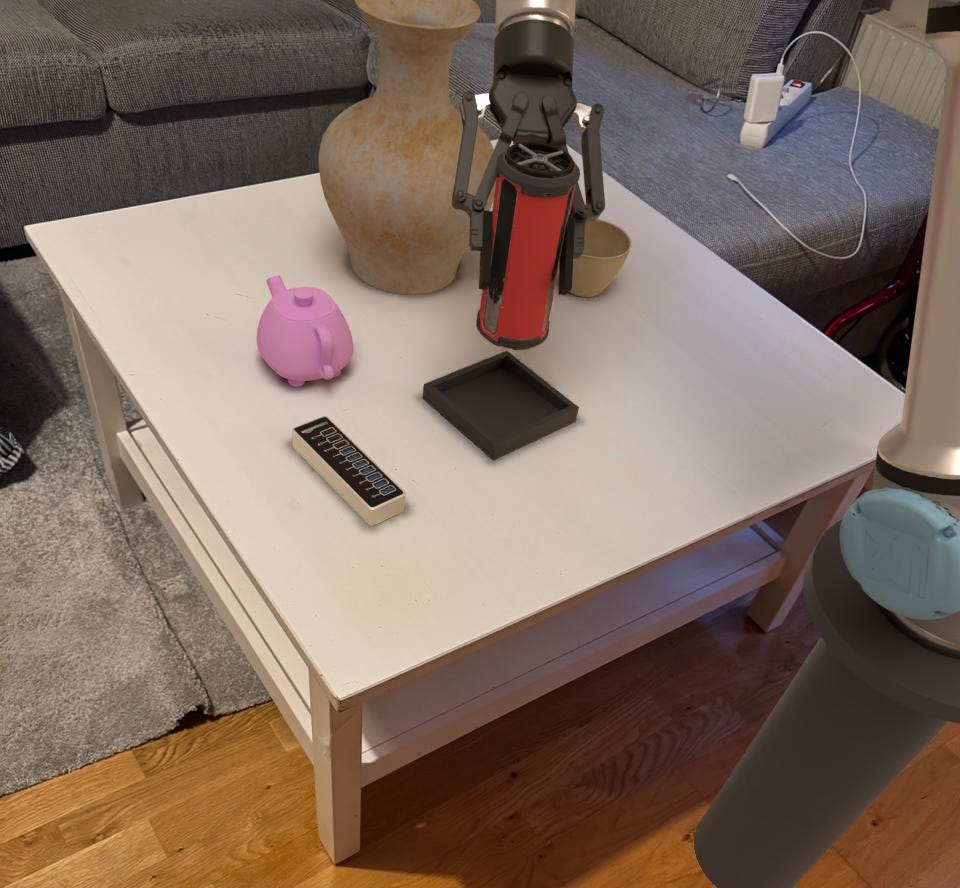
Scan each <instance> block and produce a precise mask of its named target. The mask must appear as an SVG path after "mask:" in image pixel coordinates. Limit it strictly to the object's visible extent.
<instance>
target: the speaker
mask: <svg viewBox="0 0 960 888" xmlns="http://www.w3.org/2000/svg"><path fill="white" fill-rule="evenodd" d="M496 175H497V179H496V187H495V195H494V200H493V203H492V210H491V211H493V212H492V245H491V275H490V284H489V286H488V288H487V289H486V290H482V289H481V295H480V302H479V304H480V305H479V309H478V311H477V314H476V322H475V325H476V329H477V331H478V332H479V334H480V335H481V336H482V337H483V339H485V340H486V341H487V342H489V343H491V344H492V345H494V346H496V347H498V348H500V347H502V348H506V349H510V350H511V349H512V350H513V351H525V350H529V349H532V348H535V347H537V346H539V345H541V344H543V343H544V342H545V341H546V340H547V338H548V336H549V333H550V323H551V322H550V317H551V313H552V307H553V302H554V296H555V294H554V293H555V288H556V285H557V284H556V283H557V280H558V279H557V278H558V275H559V270H558V268H559V263H560V256H561V251H562V246H563V241H564V236H565V231H566V226H567V221H568V218H569V215H570V211H571V206H572V201H573V196H574V190H575V185H576V183H577V182H578V183H579V181H580V176H581V170H580V168H579V166H578V164H577V163H576V162H575V161H574V158H573V157H572V155H571V154H570V152H569V153H567V152H566V151H565V150H563V149H561V148H559V147H557V146H554V145H551V144H548V143H543V142H535V141H526V142H519V143H516V144H511V145H510V147H509V148H508V149H507V150H505V151H504V152H503V153H501V154H500V155H499V156H498V158H497V163H496ZM566 219H567V220H566ZM565 223H566V225H565ZM564 229H565V230H564ZM563 234H564V235H563ZM562 239H563V240H562ZM561 244H562V245H561ZM560 249H561V250H560Z"/></svg>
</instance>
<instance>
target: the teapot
mask: <svg viewBox="0 0 960 888" xmlns="http://www.w3.org/2000/svg"><path fill="white" fill-rule="evenodd" d="M265 281H266V284H267V287H268V289H269V293H270V295H271V298H270V300H269V301H268V302H267V304H266V306H265V308H264V310H263V311H262V313H261V315H260V318H259V322H258V325H257V330H256V347H257V351H258V352H259V354H260V356H261V358H262V359H263V361H264V362H265V363H266V364H267V365H268V366H269V367H270V369H272V370H273V371H274V372H275V373H276V374H277V375H279V377H282V378H284V379H287V383H288V384H289V385H290V386H292V387H302V386H304V384H305V383H306V382H307V381H317V380H322V379H323V380H326V381H328V380H332V379H333V378H336V377H339V376H341V374H342V371H341V370H342V369H344V368H345V367H346V366H347V364H348V363H349V362H350V361H351V360H352V358H353V355H354V339H353V336H352V331H351V329H350V326H349V324H348V321H347V320H346V319H347V318H346V317H345V316H344V313H342V310H341V309H340V307H339V306H338V304H337V302H336V301H335V299H333V297H332V296H331V295H330V294H329V293H328V292H326V291H325V290H323V289H321V288H318V287H315V286H296V287H295V286H294V287H291V288H286V286H285V283H284V280H283V278H282V276H281V275H280V274H279V275H274V276H271V277H269V278H267V279H266V280H265Z"/></svg>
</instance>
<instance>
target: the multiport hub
mask: <svg viewBox="0 0 960 888" xmlns="http://www.w3.org/2000/svg"><path fill="white" fill-rule="evenodd" d="M291 435H292V436H291V439H292V448H293V449H294V450H295V451H296V452H297V453H298V455H300V457H302V458H303V459H304V461H305V462H306V463H308V465H309V466H310V467H311V468H312V469H313V470H315V472H316V473H317V474H318V475H319V476H320V477H321V478H322V479H323V480H324V481H325V482H326V483H327V484H328V485H329V486H330V487H331V489H333V491H335V492H336V493H337V494H338V496H340V498H341V499H343V500H344V501H345V503H346V504H347V505H348V506H350V507H351V509H352V510H353V511H355V513H356V514H357V516H359V517H360V518H361V519H362V520H363V521H364V522H365V523H366V524H367V525H368V526H370V527H374V526H376V525H378V524H380V523H383V522H385V521H386V520H389V519H391V518H394V517H395V516H397V515H399V514H402V513H404V512H405V509H406V508H405V507H406V495H407V493H406V491H405V490H404V489H403V488H402V487H401V486H400V485H399V484H398V483H396V481H395V480H393V479H392V477H390V475H388V474H387V473H386V472H385V471H384V470H383V469H382V468H381V466H379V465H378V464H377V463H376V461H374V460H373V459H372V458H371V457H370V456H369V455H368V454H367V453H366V452H365V451H363V449H362V448H361V447H360V446H359V445H358V444H356V443H355V442H354V441H353V439H352V438H350V437H349V436H348V435H347V434H346V433H345V432H344V431H343V430H342V429H341V428H340V427H339V426H338V425H337V424H336V423H335V422H334V421H333V420H332V419H331V418H330V417H329V416H326V415H323V416H320V417H317V418H315V419H313V420H309V421H307V422H304V423H302V424H300V425H297V426H294V427H292V429H291Z"/></svg>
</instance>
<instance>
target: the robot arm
mask: <svg viewBox="0 0 960 888" xmlns="http://www.w3.org/2000/svg"><path fill="white" fill-rule="evenodd" d="M927 5H928V6H927V15H926V23H925V30H924V32H925V33H924V40H925V41H926V42H927V43H928V45H929V46H930V47H931V49H933V50H934V52H936V54H937V55H938V56H939V57H940V58H941V59H942V61H943V63H944V66H945V68H946V69H945V70H946V71H945V78H944V86H943V94H942V102H941V108H940V109H941V110H940V117H939V118H940V119H939V124H938V125H939V126H938V133H937V142H936V147H935V148H936V149H935V157H934V164H933V172H932V182H931V189H930V197H929V204H928V211H927V219H926V226H925V227H926V228H925V236H924V243H923V250H922V251H923V252H922V258H921V259H922V260H921V266H920V275H919V281H918V291H917V297H916V307H915V315H914V320H913V321H914V323H913V328H912V329H913V330H912V337H911V345H910V354H909V361H908V368H907V369H908V370H907V377H906V384H905V391H904V401H903V409H902V416H901V420H900V422H899V423H897V424H896V425H895V426H893V427H892V428H891V429H889V430H888V431H887V432H885V433H884V434H883V435H882V436H881V437H880V439H879V441H878V444H877V448H876V455H875V456H876V457H875V464H874V473H873V481H872V488H871V489H870V490H867V491H865V492H864V493H862V494H861V495H860V496H859V497H857V498H856V499H855V500H854V501H853V503H852V504H851V505H850V506H849V507H848V508H847V509H846V511H845V513H844V514H843V517H842V519H843V520H842V519H841V520H842V522H841V527H840V547H841V552H842V556H843V559H844V562H845V564H846V566H847V568H848V570H849V572H850V574H851V575H852V577H853V578H854V579H856V580H857V581H858V582H859V583H860V585H861V588H862V590H863V591H864V592H865V593H866V594H867V595H868V596H869V597H870V598H872V599H873V600H874V601H875V602H876V604H877V606H878V607H879V609H880V610H881V612H882V613H883V615H884V616H885V617H886V618H887V619H888V620H889V622H890V623H891V624H892V625H893V626H894V627H895V628H897V629H898V630H899V631H900V632H901V633H903V634H904V635H905V636H907V637H908V638H909V639H911V640H912V641H914V642H916V643H917V644H919V645H921V646H923V647H925V648H927V649H929V650H931V651H934V652H936V653H939V654H942V655H945V656H948V657H952V658H957V659H960V0H928V4H927ZM494 23H495V24H494V32H495V34H496V36H495V38H494V42H493V43H494V45H493V48H494V49H493V73H492V77H493V78H492V85H491V87H490V89H489V91H488V92H487V93H478V94H475V93H474V91H472V90H465V91H464V92H463V93H462V98H461V102H460V105H459V110H460V113H461V119H462V125H463V132H462V138H461V145H460V151H459V158H458V164H457V170H456V177H455V183H454V189H453V196H452V206H453V208H454V209H457V210H459V209H461V210H463V211H465V212H466V213H467V214H468V215H469V217H470V235H469V249H470V251H471V252H479V271H478V290H481V291H482V290H486V289H487V288H488V286H489V284H490V275H491V245H492V212H493V211H492V210H489V211H484V207H485V205H486V202H487V200H488V197H489V195H490V193H491V190H492V188H493V185H494V183H495V181H496V178H497V175H496V163H497V158H498V156H499V155H500V154H501V153H503V152H504V151H505V150H507V149H508V148H509V147H510V146H511V145H514V144H516V143H519V142H526V141H535V142H543V143H548V144H551V145H554V146H557V147H559V148H561V149H563V150H565V151H566V152H567V153H569V154H570V152H569V149H568V145H567V137H566V134H565V133H566V132H565V130H564V127H565V126H566V124H567V123H568V122H569V121H570V119H571V118H574V119H575V121H576V128H577V130H578V132H580V133H581V140H580V145H581V160H582V170H583V171H582V173H583V184H584V193H585V194H584V196H585V200H584V197H583V194H582V190H581V188H580V185H579V181H578V182H577V183H576V185H575V190H574V196H573V201H572V206H571V211H570V215H569V218H568V221H567V226H566V231H565V236H564V241H563V246H562V251H561V256H560V269H559V270H558V292H557V293H558V296H567V295H568V293H570V292H569V291H570V290H571V289H572V279H573V258H574V259H578V258H579V257H580V256H581V255H582V253H583V250H584V236H585V222H587V221H590V220H592V221H594V220H596V219H599V218H600V216H601V214H602V213H603V212H604V211H605V209H606V198H605V197H606V196H605V186H604V185H605V184H604V172H603V171H604V170H603V160H602V148H601V147H602V145H601V135H600V134H601V133H600V129H601V125H602V121H603V118H604V117H603V116H604V113H605V108H604V106H603V105H602V104H601V103H599V102H598V103H594V104H593V105H592V106H590V105H587V104H584V103H581V102H578V100H577V97H576V95H575V92H574V88H573V78H574V77H573V74H574V73H573V72H574V55H575V54H574V53H575V52H574V50H575V49H574V48H575V40H574V38H573V35H574V34H575V25H576V0H495V21H494ZM486 110H489V111H490V113H491V115H492V116H493V117H494V119H495V121H496V122H497V124H498V126H499V127H500V129H501V131H500V134H499V137H498V140H497V142H496V144H495V146H494V151H493V154H492V156H491V158H490V161H489V163H488V166H487V168H486V171H485V173H484V175H483V178H482V180H481V183H480V185H479V188H478V190H477V192H476V195H475V196H474V195H471V194H469V193H467V190H468V184H469V178H470V171H471V165H472V159H473V152H474V146H475V140H476V134H477V127H478V126H479V123H480V122H481V121H482V120H483V119H484V116H485V111H486ZM566 220H567V219H566ZM565 225H566V223H565ZM564 230H565V229H564ZM563 235H564V234H563ZM562 240H563V239H562ZM561 245H562V244H561ZM560 250H561V249H560Z"/></svg>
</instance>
